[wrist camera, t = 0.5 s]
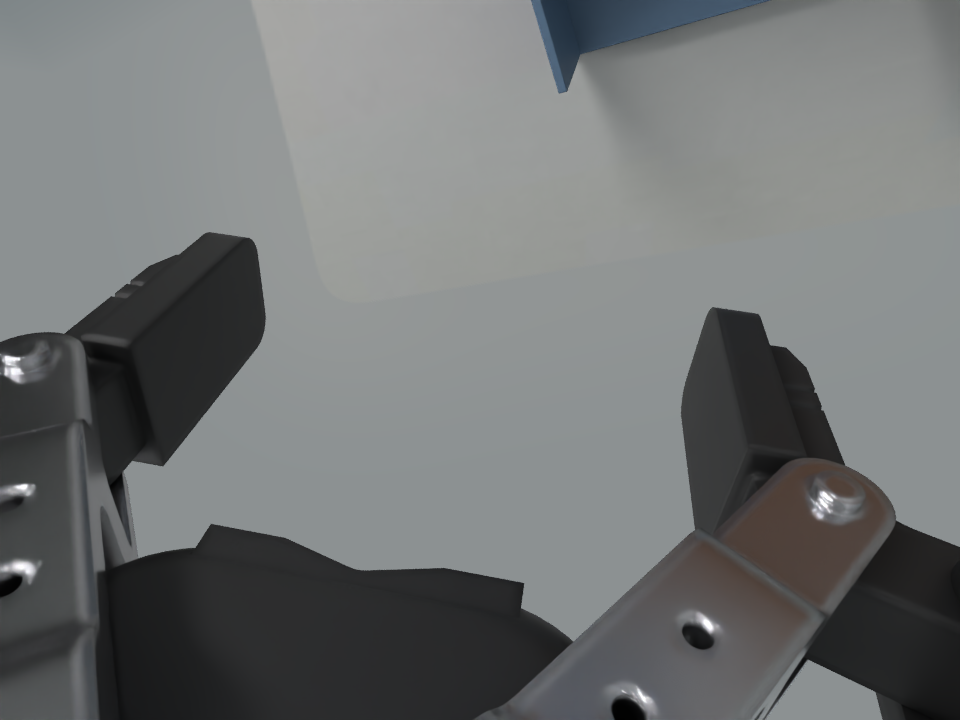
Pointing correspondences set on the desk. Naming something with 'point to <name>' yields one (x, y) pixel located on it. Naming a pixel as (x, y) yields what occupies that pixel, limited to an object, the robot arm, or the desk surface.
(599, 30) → the dustpan
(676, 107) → the desk surface
